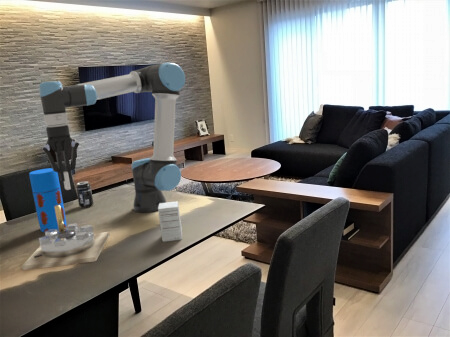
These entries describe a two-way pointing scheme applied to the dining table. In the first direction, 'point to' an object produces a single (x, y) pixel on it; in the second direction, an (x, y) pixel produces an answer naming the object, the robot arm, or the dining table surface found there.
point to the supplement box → (170, 221)
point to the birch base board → (85, 256)
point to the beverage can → (84, 194)
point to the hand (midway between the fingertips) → (67, 189)
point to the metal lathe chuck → (66, 238)
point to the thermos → (47, 198)
